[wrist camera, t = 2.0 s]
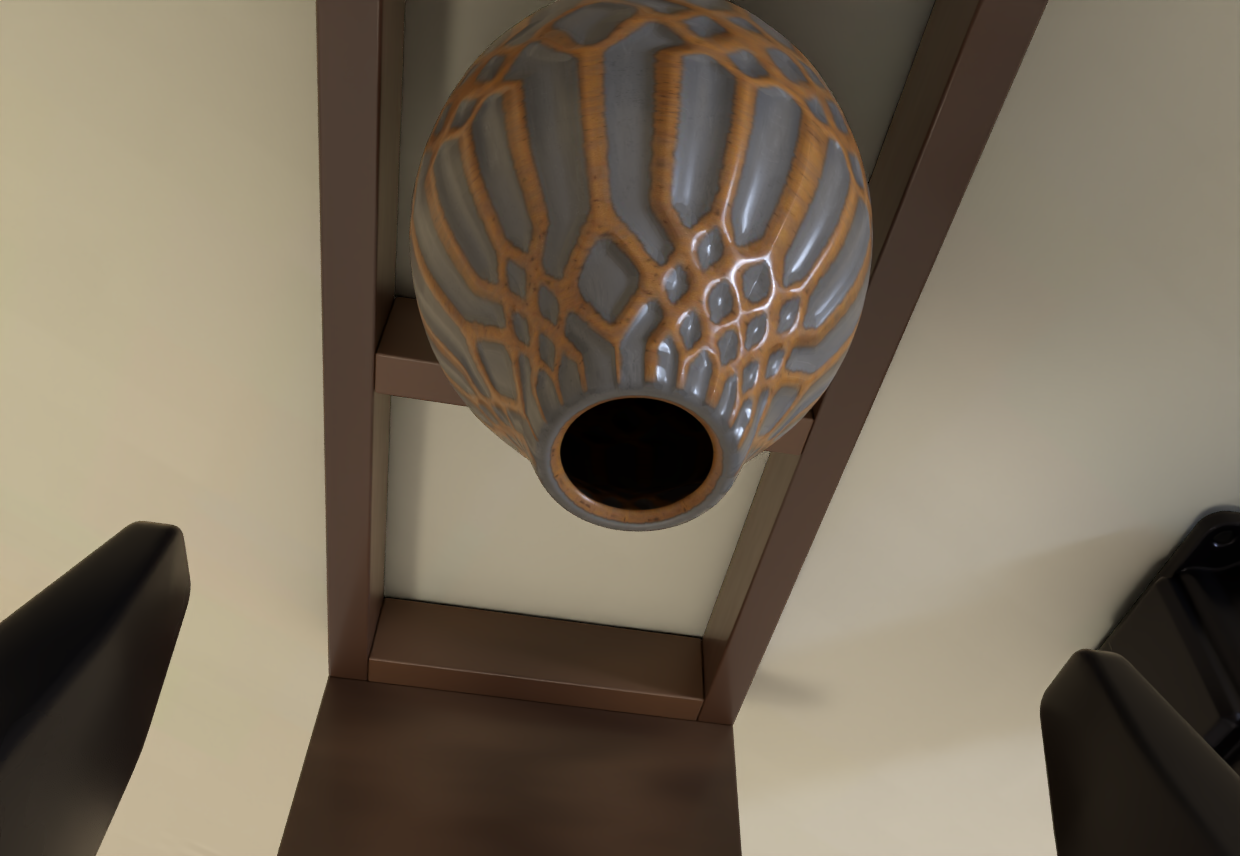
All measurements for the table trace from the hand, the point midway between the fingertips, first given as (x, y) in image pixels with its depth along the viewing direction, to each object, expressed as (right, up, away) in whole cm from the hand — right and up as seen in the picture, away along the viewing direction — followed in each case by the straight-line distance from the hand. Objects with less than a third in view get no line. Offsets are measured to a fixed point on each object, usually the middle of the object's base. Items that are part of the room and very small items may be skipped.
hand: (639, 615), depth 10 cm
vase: (0, +7, +8) cm, 11 cm away
